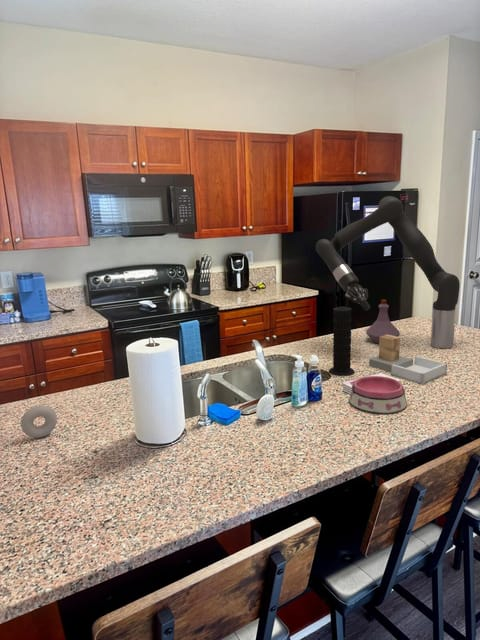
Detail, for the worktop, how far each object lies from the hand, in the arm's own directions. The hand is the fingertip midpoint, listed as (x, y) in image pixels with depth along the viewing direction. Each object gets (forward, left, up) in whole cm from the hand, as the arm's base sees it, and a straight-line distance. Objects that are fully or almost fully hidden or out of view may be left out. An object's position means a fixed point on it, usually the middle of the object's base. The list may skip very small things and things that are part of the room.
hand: (368, 309), depth 183 cm
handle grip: (+19, +3, -22) cm, 29 cm away
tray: (0, +24, -22) cm, 33 cm away
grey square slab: (0, +12, -22) cm, 25 cm away
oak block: (0, +11, -19) cm, 22 cm away
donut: (+126, -20, -22) cm, 130 cm away
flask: (-27, -12, -22) cm, 37 cm away
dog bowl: (+32, +30, -22) cm, 49 cm away
